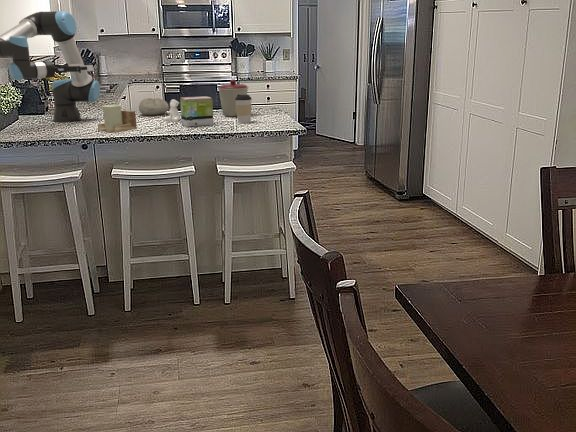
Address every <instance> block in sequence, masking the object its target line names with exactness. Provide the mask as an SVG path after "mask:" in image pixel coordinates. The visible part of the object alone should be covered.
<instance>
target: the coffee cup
mask: <svg viewBox="0 0 576 432" xmlns="http://www.w3.org/2000/svg"><path fill="white" fill-rule="evenodd" d="M235 100H236V110H237V116H238V117H237V123H238V124H249V123H251V121H252V120H251V119H252V117H251V116H252V96H251V95H250V94H247V95H239V94H238V95H237V97H236V99H235Z"/></svg>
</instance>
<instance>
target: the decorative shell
mask: <svg viewBox="0 0 576 432" xmlns="http://www.w3.org/2000/svg"><path fill="white" fill-rule="evenodd" d="M138 110H139V112H140V113H141V114H143V115H145V116H157V115H163V114H166V113H167V112H169V110H170V104H169V103H168V102H167V101H166V100H164V99H163V98H158V97H157V98H152V97H150V98H144V99H142V100H141V101H140V102H139V104H138Z"/></svg>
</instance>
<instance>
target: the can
mask: <svg viewBox="0 0 576 432" xmlns="http://www.w3.org/2000/svg"><path fill="white" fill-rule="evenodd" d="M121 110H122V105H121V104H106V105H102V112H103V121H104V123H105V129H109V130H113V129H114V126H119V125H123V124H122V114H121ZM104 123H103V124H104Z"/></svg>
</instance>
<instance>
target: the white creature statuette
mask: <svg viewBox="0 0 576 432" xmlns="http://www.w3.org/2000/svg"><path fill="white" fill-rule="evenodd" d="M179 105H180V101H177V100H176V99H175V98H174V99H171V100H170V102H169V109H168V113H169V115H167V116H165V117H163V118H162V121H163V122H164V121H166V122H170V121H171V122H172V121H173V122H172V123H178V122H179V121H181V114H180V113H179V109H178V108H177V107H178V106H179Z"/></svg>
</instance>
